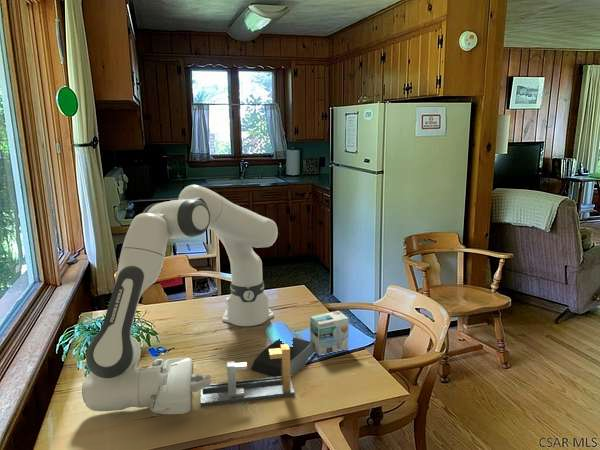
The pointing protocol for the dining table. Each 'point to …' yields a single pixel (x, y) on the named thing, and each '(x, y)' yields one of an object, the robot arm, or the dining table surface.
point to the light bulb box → (329, 332)
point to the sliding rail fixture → (254, 385)
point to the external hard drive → (273, 366)
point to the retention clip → (234, 378)
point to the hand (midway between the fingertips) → (210, 380)
